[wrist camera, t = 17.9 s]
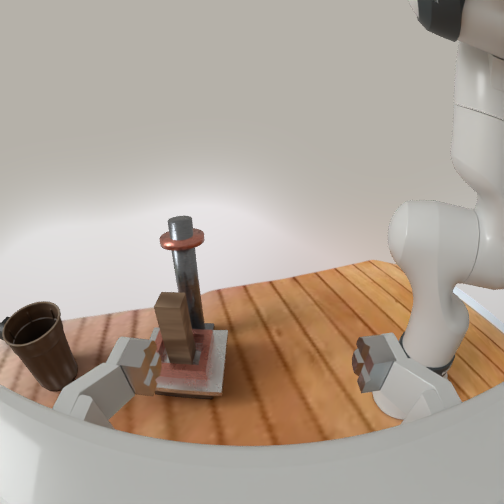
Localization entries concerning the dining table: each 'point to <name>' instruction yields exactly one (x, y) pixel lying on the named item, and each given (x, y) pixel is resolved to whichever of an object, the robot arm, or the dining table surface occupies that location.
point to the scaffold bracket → (205, 337)
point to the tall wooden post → (175, 327)
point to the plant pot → (41, 344)
